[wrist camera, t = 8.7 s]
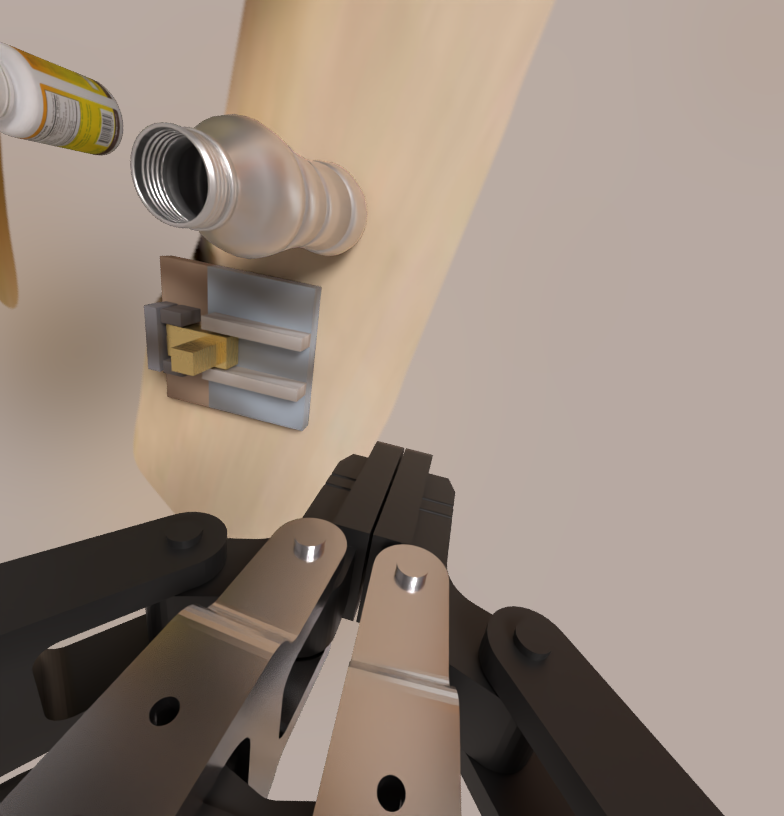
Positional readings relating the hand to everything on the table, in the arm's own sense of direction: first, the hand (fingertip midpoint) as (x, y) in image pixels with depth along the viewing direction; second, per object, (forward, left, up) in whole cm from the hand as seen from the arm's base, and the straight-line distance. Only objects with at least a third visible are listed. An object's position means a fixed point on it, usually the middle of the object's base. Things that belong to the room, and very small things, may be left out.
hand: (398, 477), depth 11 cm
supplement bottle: (-10, -34, -27) cm, 45 cm away
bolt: (+7, -22, -25) cm, 35 cm away
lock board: (+7, -20, -27) cm, 34 cm away
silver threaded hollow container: (-6, -12, -27) cm, 30 cm away
